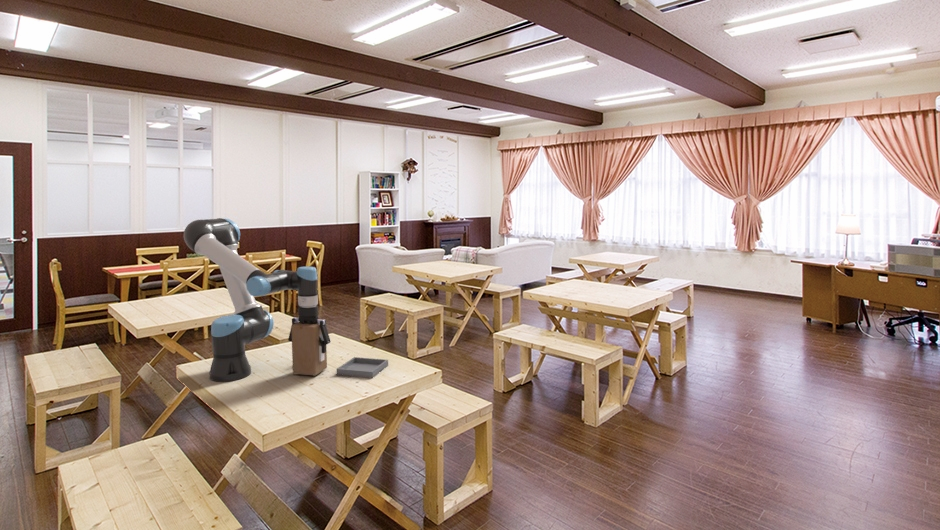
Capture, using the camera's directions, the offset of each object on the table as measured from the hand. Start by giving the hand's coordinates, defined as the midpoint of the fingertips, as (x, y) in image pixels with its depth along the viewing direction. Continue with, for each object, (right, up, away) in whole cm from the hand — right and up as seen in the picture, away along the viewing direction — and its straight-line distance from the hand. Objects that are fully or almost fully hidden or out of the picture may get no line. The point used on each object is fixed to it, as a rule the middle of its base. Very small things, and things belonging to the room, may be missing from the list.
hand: (309, 359), depth 209 cm
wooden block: (0, -5, +1) cm, 5 cm away
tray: (+21, -5, +4) cm, 22 cm away
